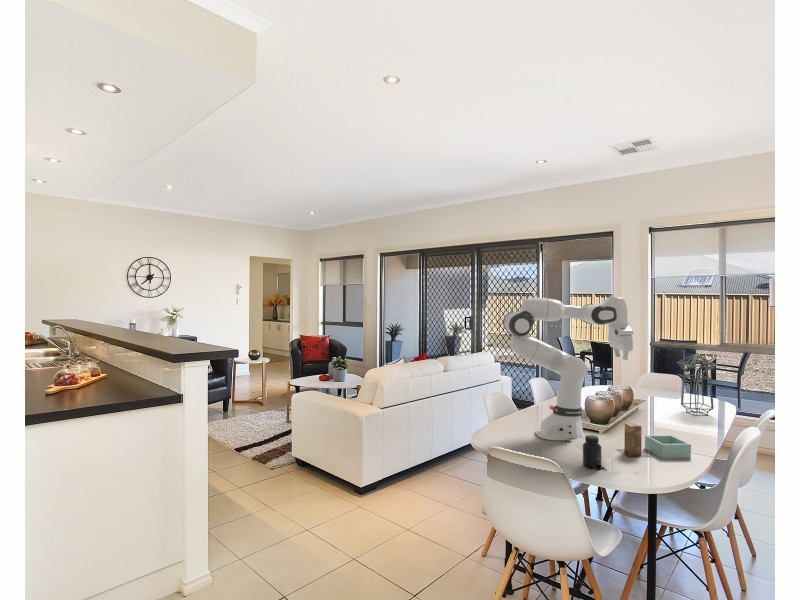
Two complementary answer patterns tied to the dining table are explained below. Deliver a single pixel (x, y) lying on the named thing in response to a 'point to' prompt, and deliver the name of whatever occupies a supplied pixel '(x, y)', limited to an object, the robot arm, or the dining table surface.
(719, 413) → the dining table surface
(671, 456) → the sage bin
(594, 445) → the supplement bottle
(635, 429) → the walnut strut
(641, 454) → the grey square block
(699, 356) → the geometric lantern
